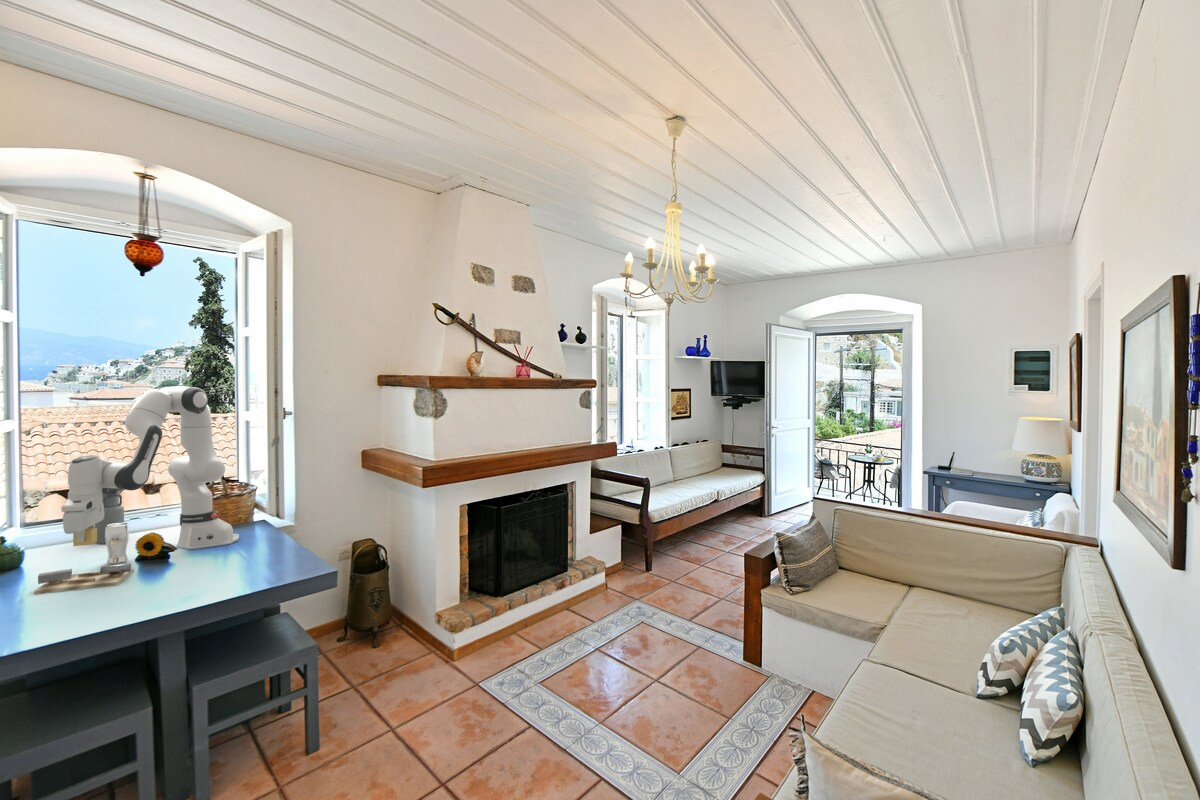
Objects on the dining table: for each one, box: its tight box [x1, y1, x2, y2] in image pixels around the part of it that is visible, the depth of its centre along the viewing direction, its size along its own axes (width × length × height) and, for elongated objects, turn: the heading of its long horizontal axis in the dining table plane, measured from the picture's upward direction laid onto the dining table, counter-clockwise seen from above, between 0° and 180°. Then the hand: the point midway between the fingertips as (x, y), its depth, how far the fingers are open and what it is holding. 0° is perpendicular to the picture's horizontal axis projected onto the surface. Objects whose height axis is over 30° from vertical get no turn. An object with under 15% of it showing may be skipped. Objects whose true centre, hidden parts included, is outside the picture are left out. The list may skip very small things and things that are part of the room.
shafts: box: [37, 563, 132, 585], centre depth 187 cm, size 24×5×3 cm, turn 114°
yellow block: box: [72, 528, 97, 547], centre depth 187 cm, size 5×4×5 cm
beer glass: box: [105, 522, 130, 565], centre depth 208 cm, size 7×7×15 cm
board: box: [33, 568, 134, 595], centre depth 188 cm, size 22×14×2 cm, turn 114°
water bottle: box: [95, 487, 125, 545], centre depth 232 cm, size 10×10×28 cm
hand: (85, 539), depth 187 cm, fingers closed on yellow block, 4 cm apart
